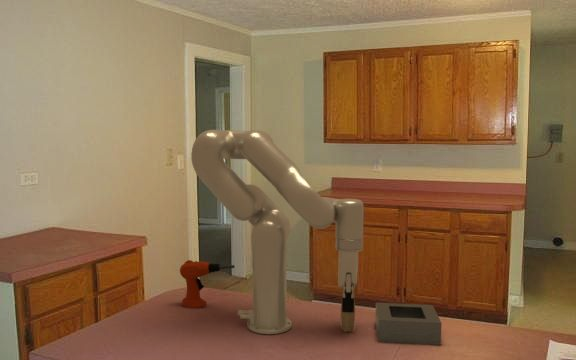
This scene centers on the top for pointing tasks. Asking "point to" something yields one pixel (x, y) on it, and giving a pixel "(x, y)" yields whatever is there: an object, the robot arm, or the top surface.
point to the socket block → (407, 324)
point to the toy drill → (197, 280)
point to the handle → (348, 316)
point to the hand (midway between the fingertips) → (348, 308)
